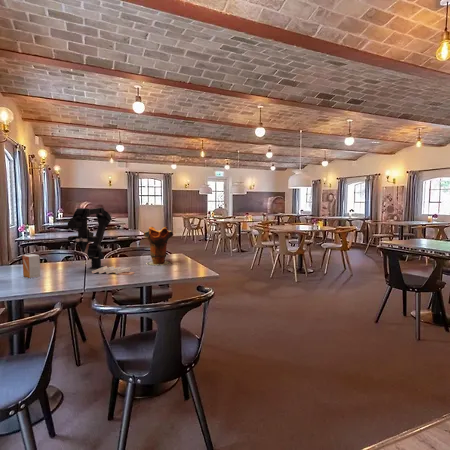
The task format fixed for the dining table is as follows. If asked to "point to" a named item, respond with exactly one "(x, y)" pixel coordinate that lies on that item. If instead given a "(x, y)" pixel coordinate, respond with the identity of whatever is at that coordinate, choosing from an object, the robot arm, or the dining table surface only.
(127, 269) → the domino
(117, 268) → the domino
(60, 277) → the dining table surface
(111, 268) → the domino
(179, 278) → the dining table surface
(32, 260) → the small box
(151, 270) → the dining table surface
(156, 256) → the decorative vase
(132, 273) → the domino
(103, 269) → the domino
